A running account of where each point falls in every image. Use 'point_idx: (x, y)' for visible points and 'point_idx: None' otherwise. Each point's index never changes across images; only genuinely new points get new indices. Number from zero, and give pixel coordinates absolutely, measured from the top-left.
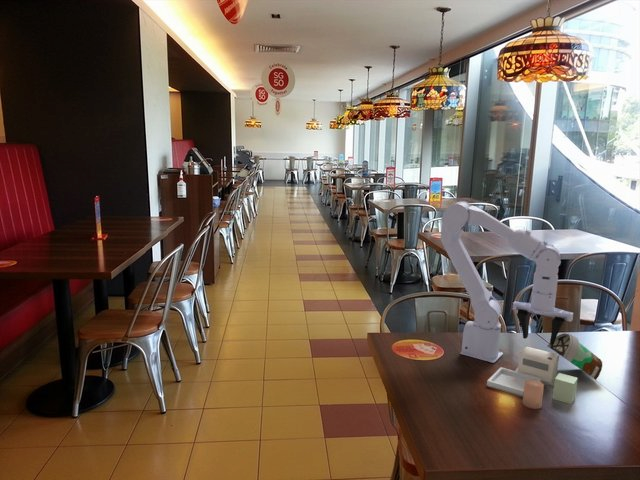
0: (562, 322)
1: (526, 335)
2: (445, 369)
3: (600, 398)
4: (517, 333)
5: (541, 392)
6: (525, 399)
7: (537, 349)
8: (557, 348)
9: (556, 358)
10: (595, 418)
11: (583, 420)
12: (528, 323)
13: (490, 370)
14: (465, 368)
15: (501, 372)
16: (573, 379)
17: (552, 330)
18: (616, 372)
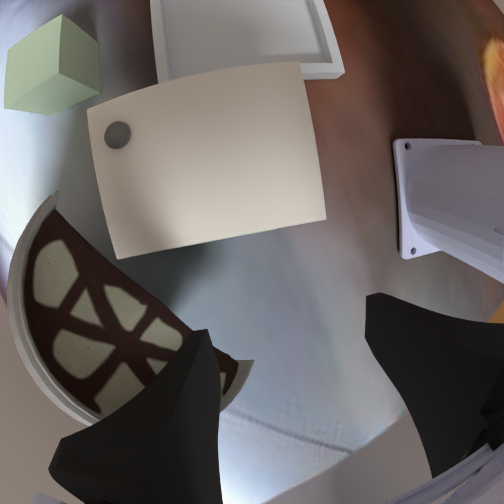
0: (53, 474)
1: (374, 317)
2: (435, 11)
3: (13, 186)
4: (390, 422)
5: None
6: None
7: (248, 225)
8: (164, 330)
9: (99, 186)
10: (4, 65)
11: (22, 30)
12: (409, 396)
13: (367, 72)
14: (418, 41)
15: (326, 61)
16: (11, 78)
17: (172, 399)
18: None
